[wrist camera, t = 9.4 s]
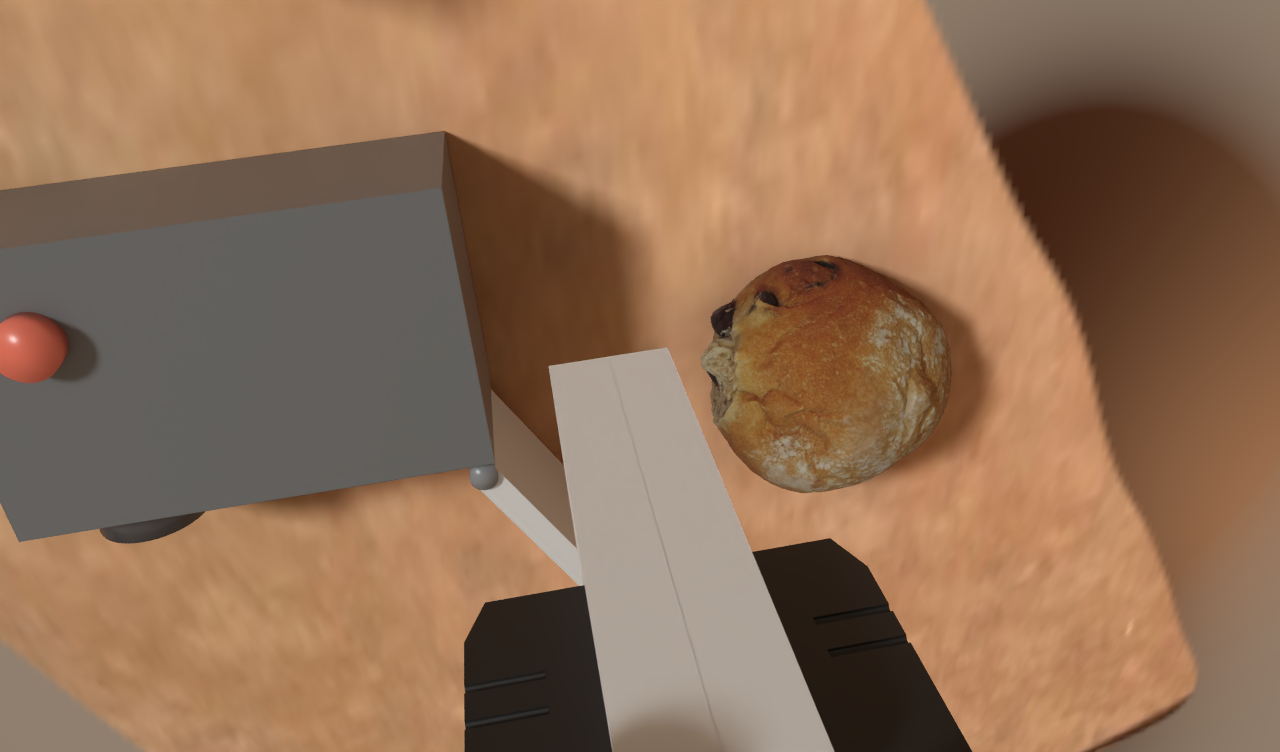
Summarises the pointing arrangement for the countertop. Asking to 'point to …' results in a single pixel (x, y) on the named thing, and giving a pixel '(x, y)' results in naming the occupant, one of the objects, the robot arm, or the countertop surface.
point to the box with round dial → (235, 337)
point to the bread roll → (825, 374)
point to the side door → (529, 488)
